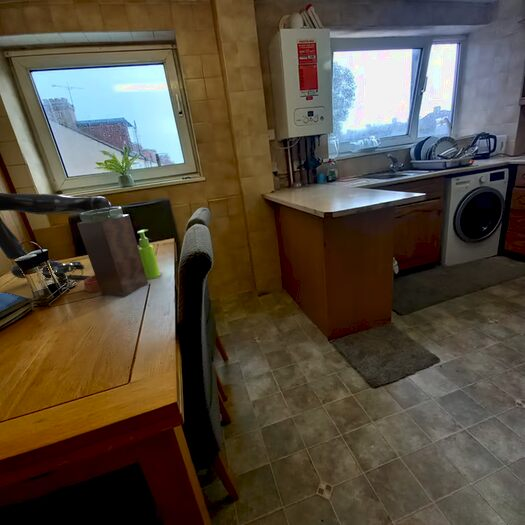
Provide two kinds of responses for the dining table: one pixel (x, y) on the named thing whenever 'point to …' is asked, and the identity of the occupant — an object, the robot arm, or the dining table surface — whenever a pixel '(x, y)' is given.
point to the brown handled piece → (87, 282)
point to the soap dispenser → (148, 257)
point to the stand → (112, 251)
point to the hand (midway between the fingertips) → (74, 270)
